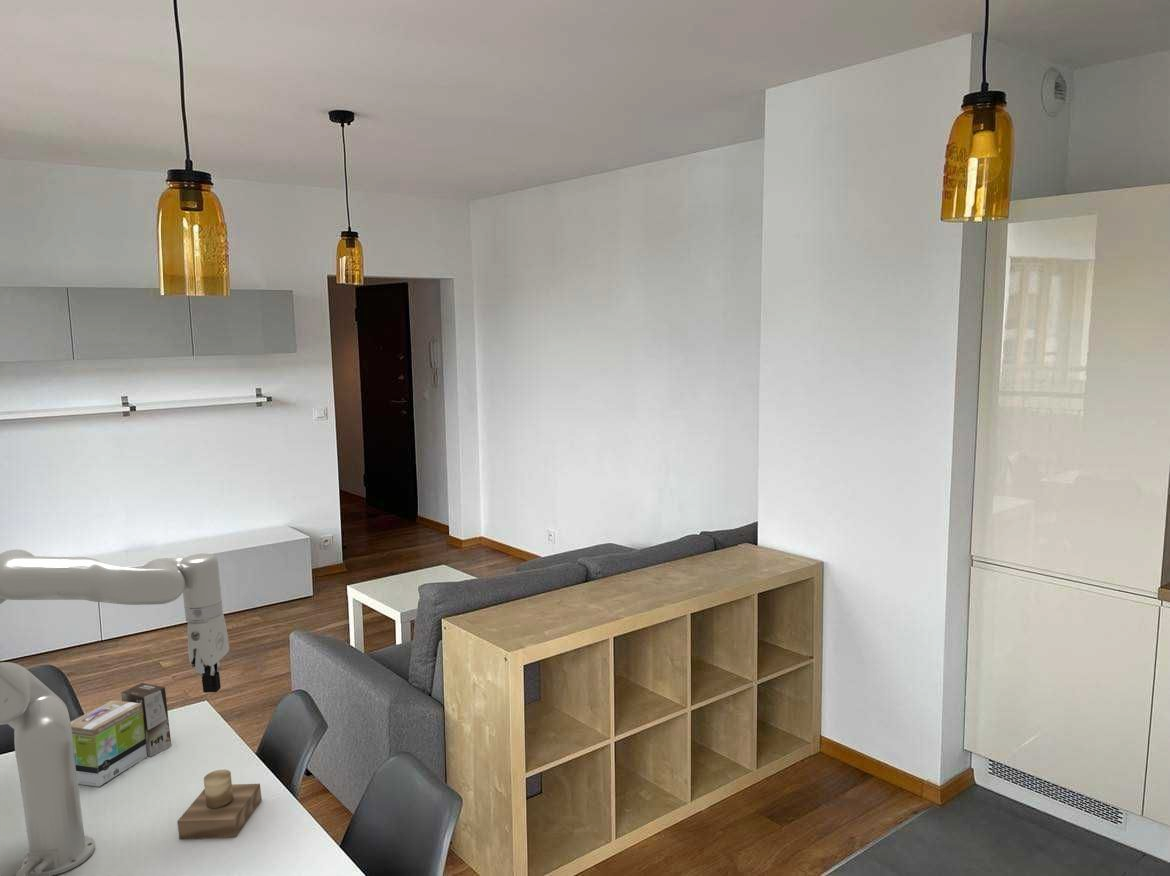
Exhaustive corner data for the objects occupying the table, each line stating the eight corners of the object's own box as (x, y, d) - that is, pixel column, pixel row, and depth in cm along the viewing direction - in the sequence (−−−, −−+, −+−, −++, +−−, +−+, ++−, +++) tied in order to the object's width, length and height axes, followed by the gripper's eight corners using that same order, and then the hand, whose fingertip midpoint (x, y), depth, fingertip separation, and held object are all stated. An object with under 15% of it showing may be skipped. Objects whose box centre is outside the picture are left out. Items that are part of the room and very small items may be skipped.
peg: (228, 823, 181) (224, 782, 180) (203, 824, 181) (199, 783, 180) (238, 809, 186) (235, 769, 185) (214, 810, 186) (210, 769, 185)
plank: (235, 836, 177) (233, 819, 176) (179, 838, 177) (177, 821, 176) (261, 800, 191) (260, 783, 190) (209, 801, 191) (207, 785, 190)
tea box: (101, 788, 199) (93, 729, 197) (67, 783, 202) (59, 725, 200) (149, 756, 213) (143, 701, 211) (117, 753, 216) (110, 698, 214)
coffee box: (172, 745, 218) (166, 686, 216) (150, 757, 213) (143, 697, 211) (149, 739, 222) (142, 681, 220) (126, 751, 217) (119, 691, 215)
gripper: (205, 622, 176) (213, 705, 178) (235, 599, 191) (242, 676, 193) (169, 623, 176) (178, 706, 178) (202, 600, 191) (210, 677, 193)
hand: (212, 690), depth 186 cm, fingers closed
